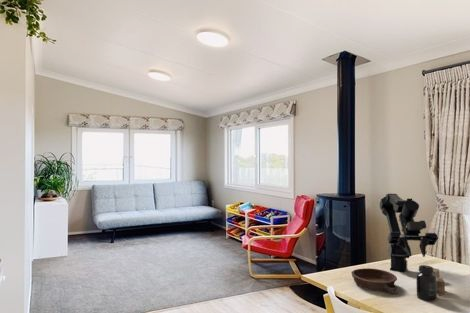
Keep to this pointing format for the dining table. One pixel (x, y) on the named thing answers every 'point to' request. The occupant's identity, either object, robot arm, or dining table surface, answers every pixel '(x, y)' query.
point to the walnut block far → (436, 272)
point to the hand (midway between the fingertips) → (417, 256)
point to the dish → (375, 279)
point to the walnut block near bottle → (440, 286)
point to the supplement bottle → (426, 283)
